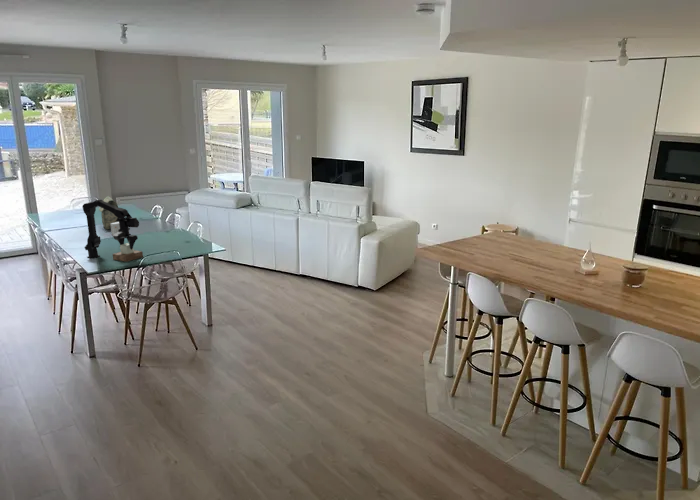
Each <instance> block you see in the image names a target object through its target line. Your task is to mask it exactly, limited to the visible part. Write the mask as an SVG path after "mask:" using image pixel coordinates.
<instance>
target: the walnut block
mask: <svg viewBox="0 0 700 500" xmlns="http://www.w3.org/2000/svg"><path fill="white" fill-rule="evenodd" d="M133 250H134V252H133V253H129V254H122V253H121V251H118V252H115V253H112V260H115V261H120V262H126V263H127V262H130V261H134V260H136V259H140V258H141V259H142V258H144V254H143V253H144V252H143V251H142V250H136V249H133Z"/></svg>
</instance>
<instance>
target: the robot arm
mask: <svg viewBox="0 0 700 500" xmlns="http://www.w3.org/2000/svg"><path fill="white" fill-rule="evenodd" d="M97 207H99V208H100V207H101V208H103V209H105V210H108V211H110V212H112V213H113V214H114V215H115V216H116V217H118V218H117V220H116V221H119V226H120V229H119V230H118V232H117V233H115V234H114V235H112V237H113V239H114V240H116V241H117V242H118V243H119V246H120V245H122V244H125V239H126V240H127V242H128V243H129V245H130V249H132V248H133V249H134V245H135V242H136V241H137V240H138V235H135V234H131V233H130V230H131V228H138V227H139V226H140V222H139V220H138V219H137V217H132V215H131V214H130V213H129V211H128V210H127V209H126V208H122V207H118V208H117V207H115V206H113V205H111V204H108V203H106V202H104V201H103V199H100V198H99V199H96V200H94V201H90V202H86V203H83V205H82V212H83V213H84V214H85V216H86V223H87V229H88V237H87V242H86V245H85V246H84V249H85V251H87V254H88V255H87V257H88V258H89V259H95V258H98V257H101V255H100V254H99V252H98V248H100V244H101V242H102V240H101V236H99V235H97V227H96V219H95V213H96V210H97V209H96V208H97Z"/></svg>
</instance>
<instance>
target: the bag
mask: <svg viewBox="0 0 700 500" xmlns="http://www.w3.org/2000/svg"><path fill="white" fill-rule="evenodd" d="M102 201H104V202H106V203H108V204H111V205H113V206H115V207H117V208H119V205H118V204H117V202H116V201H115V200H113V198H112V197H110V196H109V195H107V196H106V197H105V198H104V199H102ZM98 211H99V212H100V213H101V214H100V215H101V223H102V226H103V227H104V229H105V230H111V225H110V223H115V222H119V221H116V220H117V218H118V217H116V216H115V215H114V214H113V213H112V212H110V211H108V210H105V209H103V208H101V207H99V209H98Z"/></svg>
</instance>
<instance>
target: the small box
mask: <svg viewBox="0 0 700 500" xmlns="http://www.w3.org/2000/svg"><path fill="white" fill-rule="evenodd" d="M110 225H111V229H110V232H111V236H113V235H114V234H115V233H117V232H118V230H119V229H120V226H119V222H115V223H110Z"/></svg>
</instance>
